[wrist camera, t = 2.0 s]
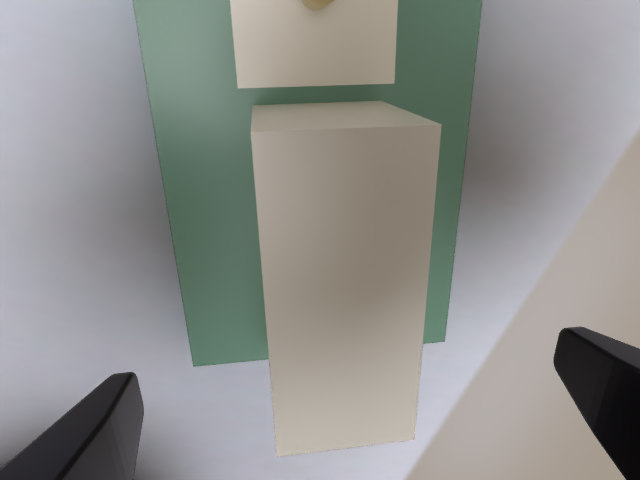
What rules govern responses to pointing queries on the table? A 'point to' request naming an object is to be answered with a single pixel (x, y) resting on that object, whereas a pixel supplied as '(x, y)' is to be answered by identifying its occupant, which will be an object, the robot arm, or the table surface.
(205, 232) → the board
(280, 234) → the block
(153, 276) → the table surface
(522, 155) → the table surface
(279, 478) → the table surface
